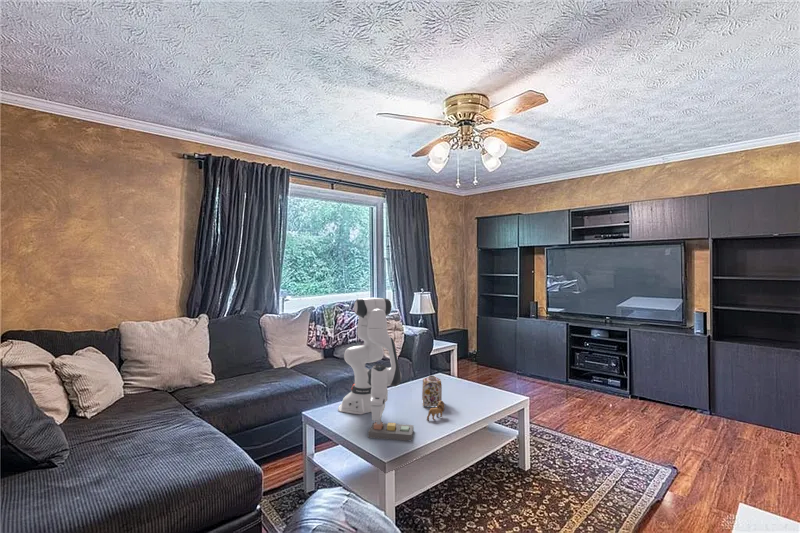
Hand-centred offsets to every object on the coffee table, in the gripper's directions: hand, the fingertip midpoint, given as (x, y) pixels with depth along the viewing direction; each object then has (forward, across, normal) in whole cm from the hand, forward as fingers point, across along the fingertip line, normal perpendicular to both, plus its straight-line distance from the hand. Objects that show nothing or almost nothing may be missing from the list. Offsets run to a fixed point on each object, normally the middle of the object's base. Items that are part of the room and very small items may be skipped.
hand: (378, 423), depth 204 cm
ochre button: (+4, 0, +7) cm, 8 cm away
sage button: (+5, 0, +14) cm, 15 cm away
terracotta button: (+4, 0, 0) cm, 4 cm away
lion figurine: (+6, -25, +29) cm, 39 cm away
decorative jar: (+5, -48, +26) cm, 55 cm away
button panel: (+5, 0, +7) cm, 9 cm away
